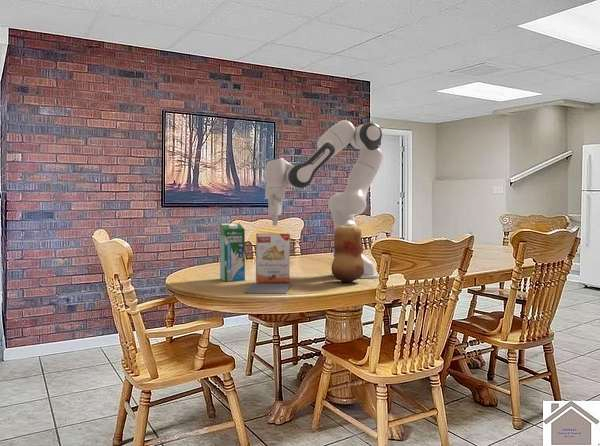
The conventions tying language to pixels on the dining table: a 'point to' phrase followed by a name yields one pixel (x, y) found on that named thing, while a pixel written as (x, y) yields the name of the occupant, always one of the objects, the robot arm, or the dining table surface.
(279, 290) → the mat
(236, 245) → the milk carton
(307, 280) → the dining table surface
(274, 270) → the cracker box
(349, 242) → the butternut squash
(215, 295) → the dining table surface
